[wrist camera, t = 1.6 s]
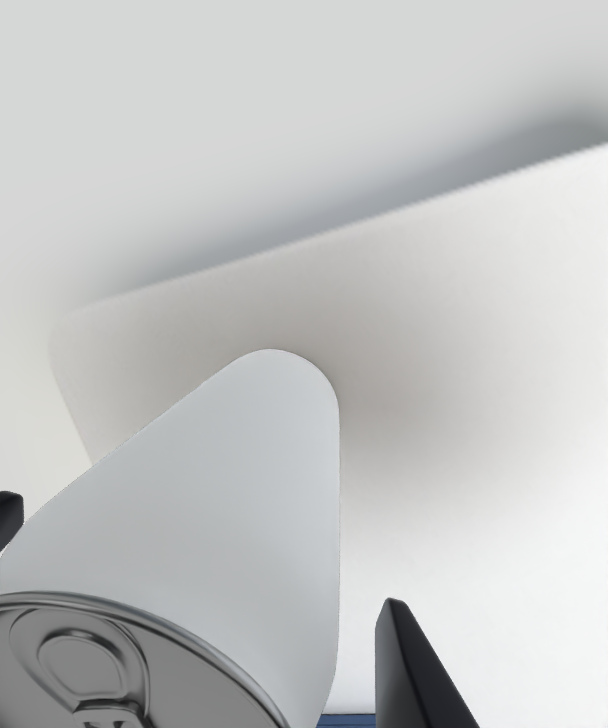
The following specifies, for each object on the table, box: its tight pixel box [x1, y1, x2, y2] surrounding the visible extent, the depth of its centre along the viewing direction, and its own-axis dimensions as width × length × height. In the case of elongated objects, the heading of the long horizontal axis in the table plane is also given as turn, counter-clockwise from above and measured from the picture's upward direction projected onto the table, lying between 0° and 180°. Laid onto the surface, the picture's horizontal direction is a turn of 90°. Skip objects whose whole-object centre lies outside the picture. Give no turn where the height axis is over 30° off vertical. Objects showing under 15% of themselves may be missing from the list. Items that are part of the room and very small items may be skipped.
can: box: [0, 349, 340, 728], centre depth 10 cm, size 6×6×12 cm
